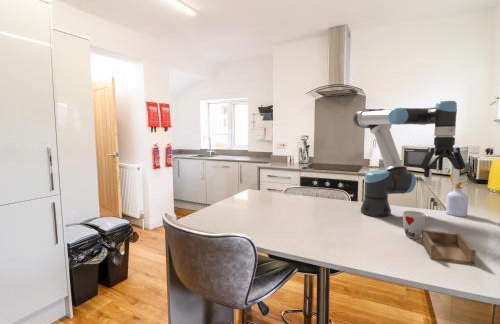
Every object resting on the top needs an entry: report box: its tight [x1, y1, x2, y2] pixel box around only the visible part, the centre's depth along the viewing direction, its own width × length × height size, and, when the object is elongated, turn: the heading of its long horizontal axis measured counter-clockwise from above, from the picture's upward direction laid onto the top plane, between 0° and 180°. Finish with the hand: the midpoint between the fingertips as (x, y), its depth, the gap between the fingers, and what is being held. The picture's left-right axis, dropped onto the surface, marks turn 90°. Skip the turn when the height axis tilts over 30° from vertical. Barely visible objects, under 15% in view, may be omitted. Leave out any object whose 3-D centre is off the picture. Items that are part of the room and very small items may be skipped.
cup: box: [402, 210, 426, 240], centre depth 112 cm, size 8×8×10 cm
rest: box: [421, 229, 476, 266], centre depth 97 cm, size 12×16×5 cm
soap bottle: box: [445, 168, 469, 217], centre depth 144 cm, size 9×9×25 cm
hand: (441, 184), depth 121 cm, fingers open, 13 cm apart
